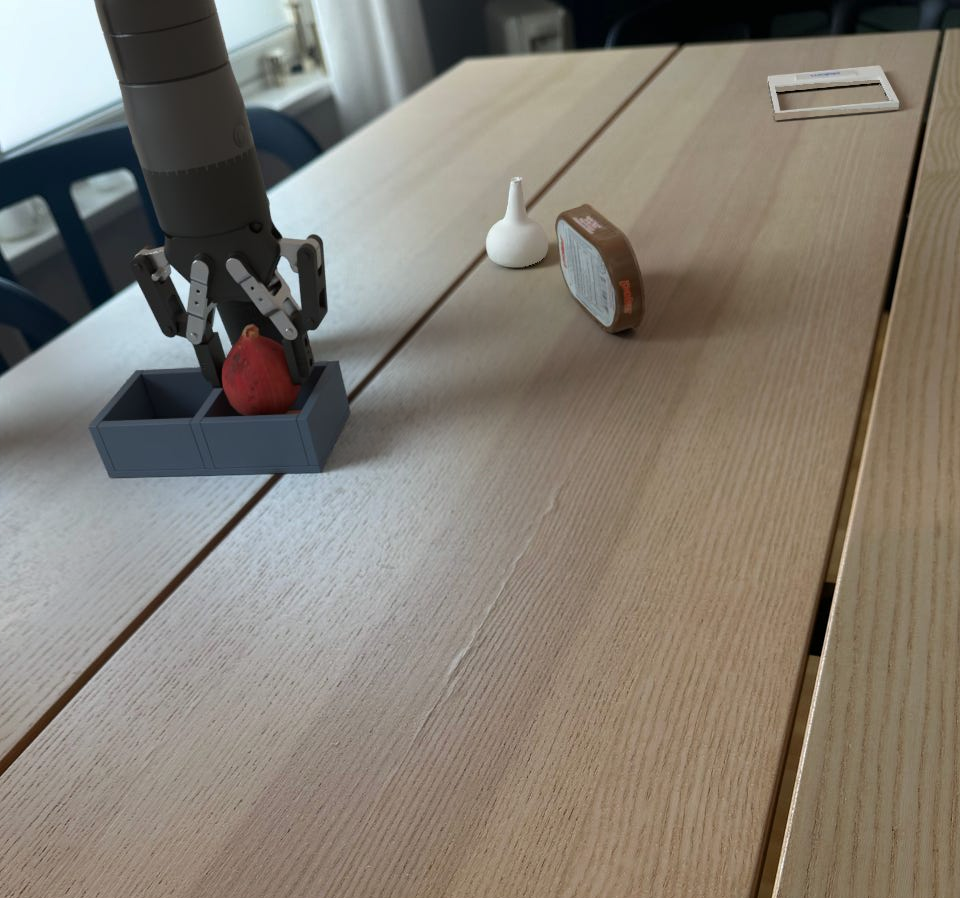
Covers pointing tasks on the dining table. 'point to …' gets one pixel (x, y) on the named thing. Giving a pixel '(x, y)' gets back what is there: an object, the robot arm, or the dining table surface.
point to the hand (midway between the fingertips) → (261, 381)
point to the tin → (600, 268)
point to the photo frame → (834, 76)
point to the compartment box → (216, 427)
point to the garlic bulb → (516, 234)
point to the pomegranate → (258, 376)
